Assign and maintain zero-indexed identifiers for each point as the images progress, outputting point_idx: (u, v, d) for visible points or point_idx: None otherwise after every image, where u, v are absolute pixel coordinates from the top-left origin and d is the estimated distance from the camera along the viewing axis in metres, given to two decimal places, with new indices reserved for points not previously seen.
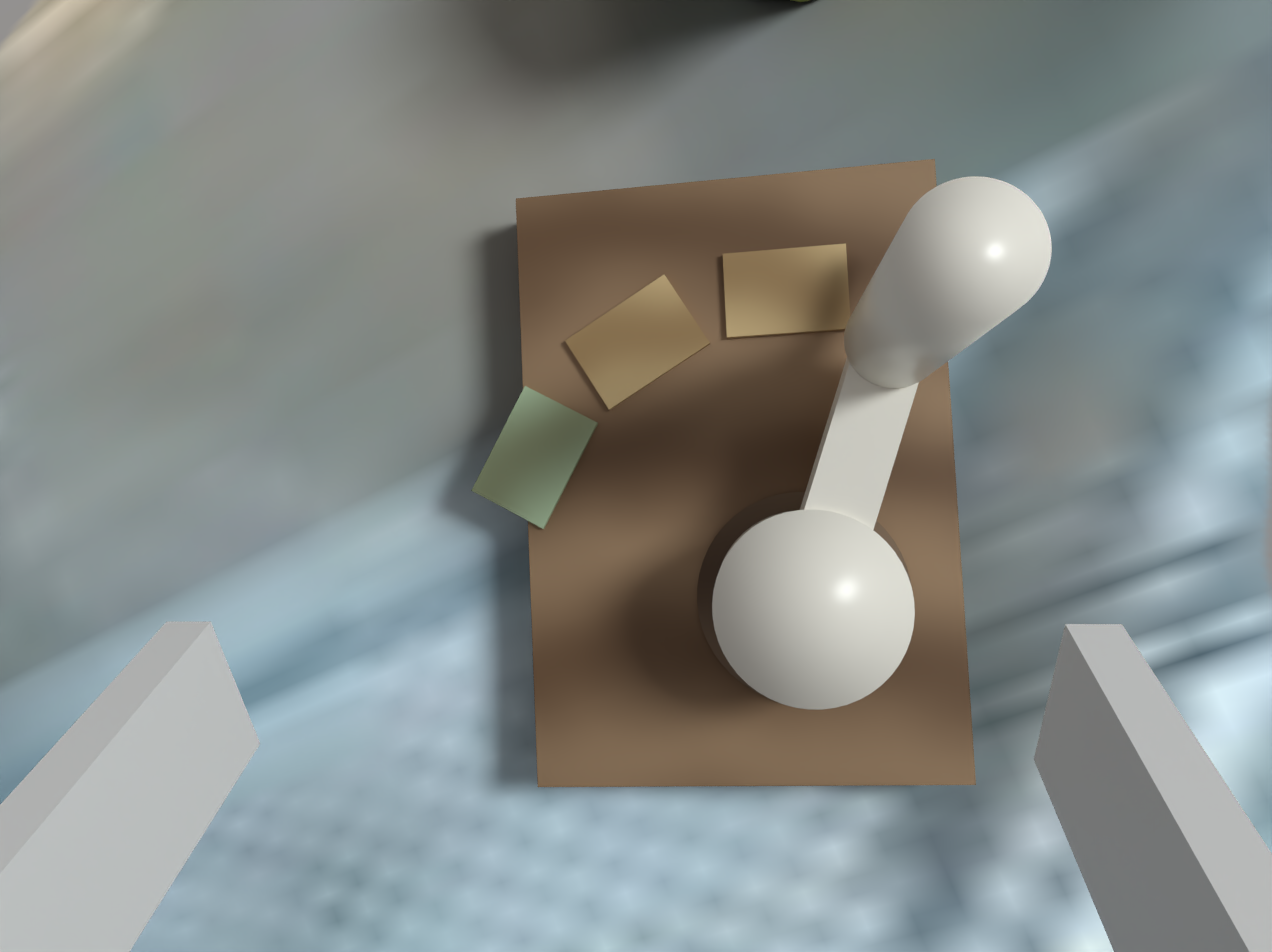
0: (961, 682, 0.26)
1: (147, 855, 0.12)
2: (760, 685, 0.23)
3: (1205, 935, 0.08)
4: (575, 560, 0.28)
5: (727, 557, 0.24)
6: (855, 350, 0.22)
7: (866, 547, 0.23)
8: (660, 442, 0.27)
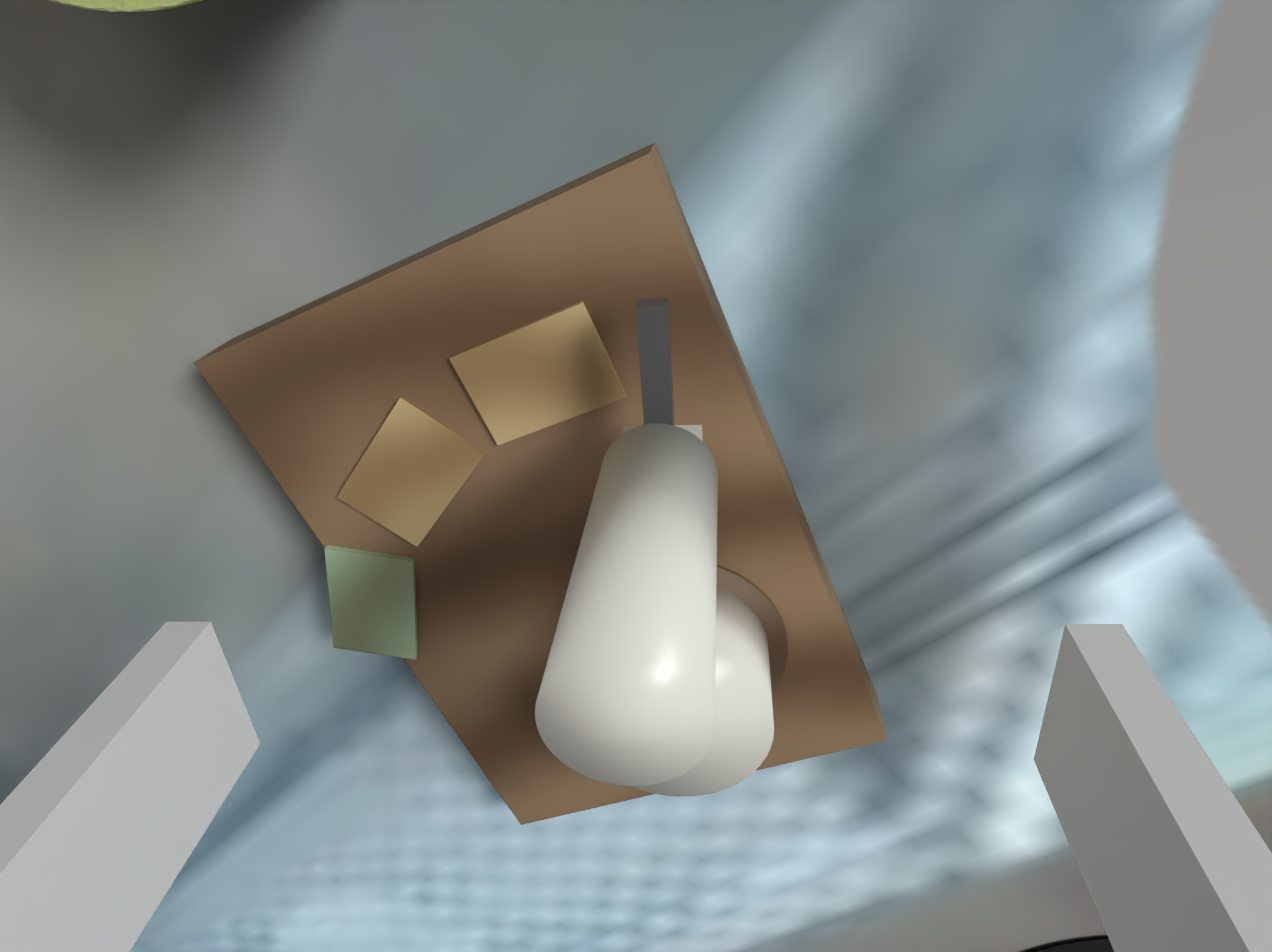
0: (852, 673, 0.26)
1: (147, 855, 0.12)
2: (653, 788, 0.25)
3: (1205, 935, 0.08)
4: (460, 672, 0.28)
5: None
6: None
7: None
8: (484, 557, 0.25)
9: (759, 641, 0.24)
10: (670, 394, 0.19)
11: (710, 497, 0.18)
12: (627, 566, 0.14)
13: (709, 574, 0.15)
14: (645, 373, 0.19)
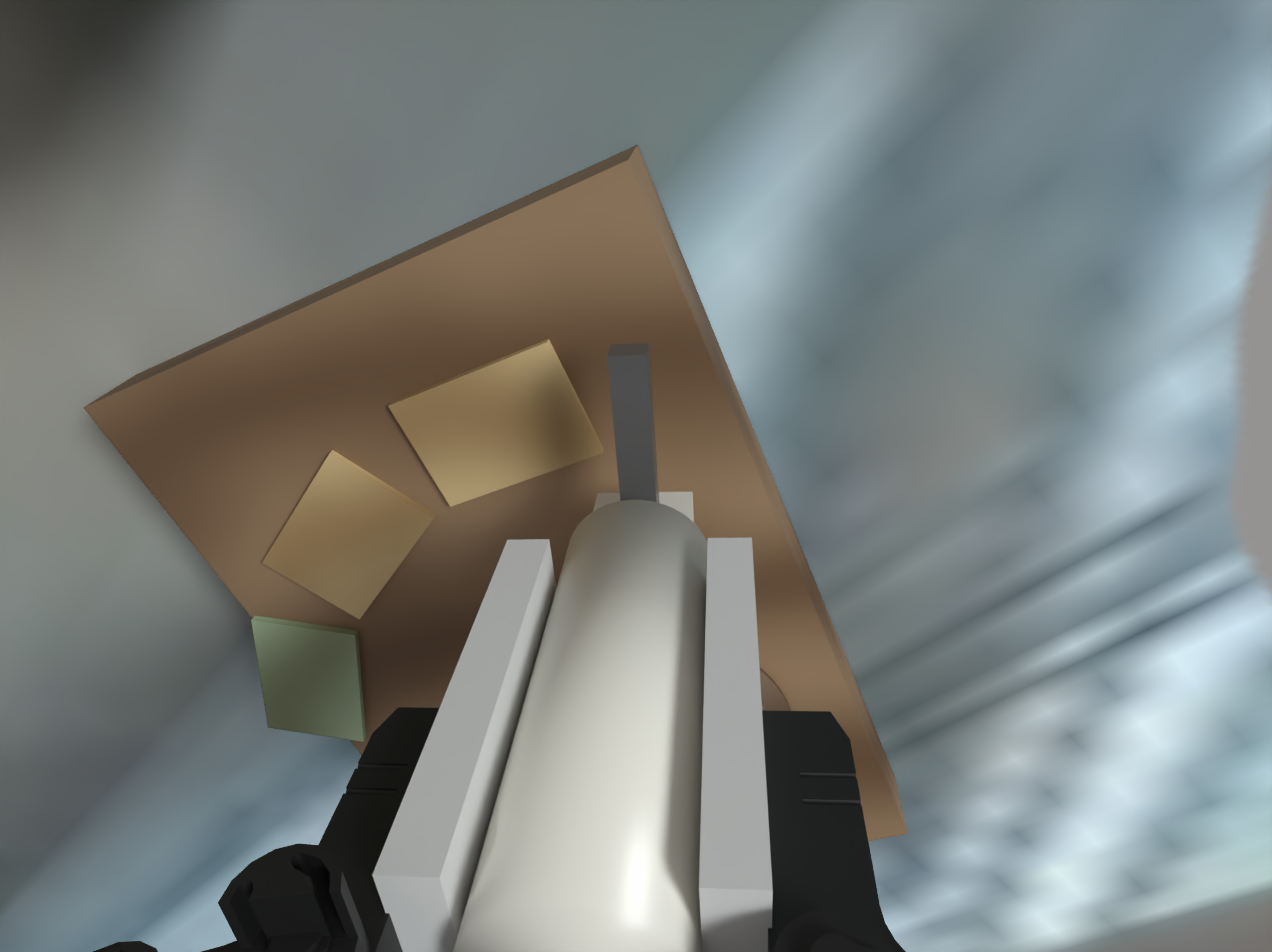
0: (868, 762, 0.23)
1: None
2: None
3: None
4: None
5: None
6: None
7: None
8: (439, 631, 0.22)
9: None
10: (652, 461, 0.16)
11: (701, 604, 0.14)
12: (586, 737, 0.10)
13: (699, 731, 0.11)
14: (621, 436, 0.15)
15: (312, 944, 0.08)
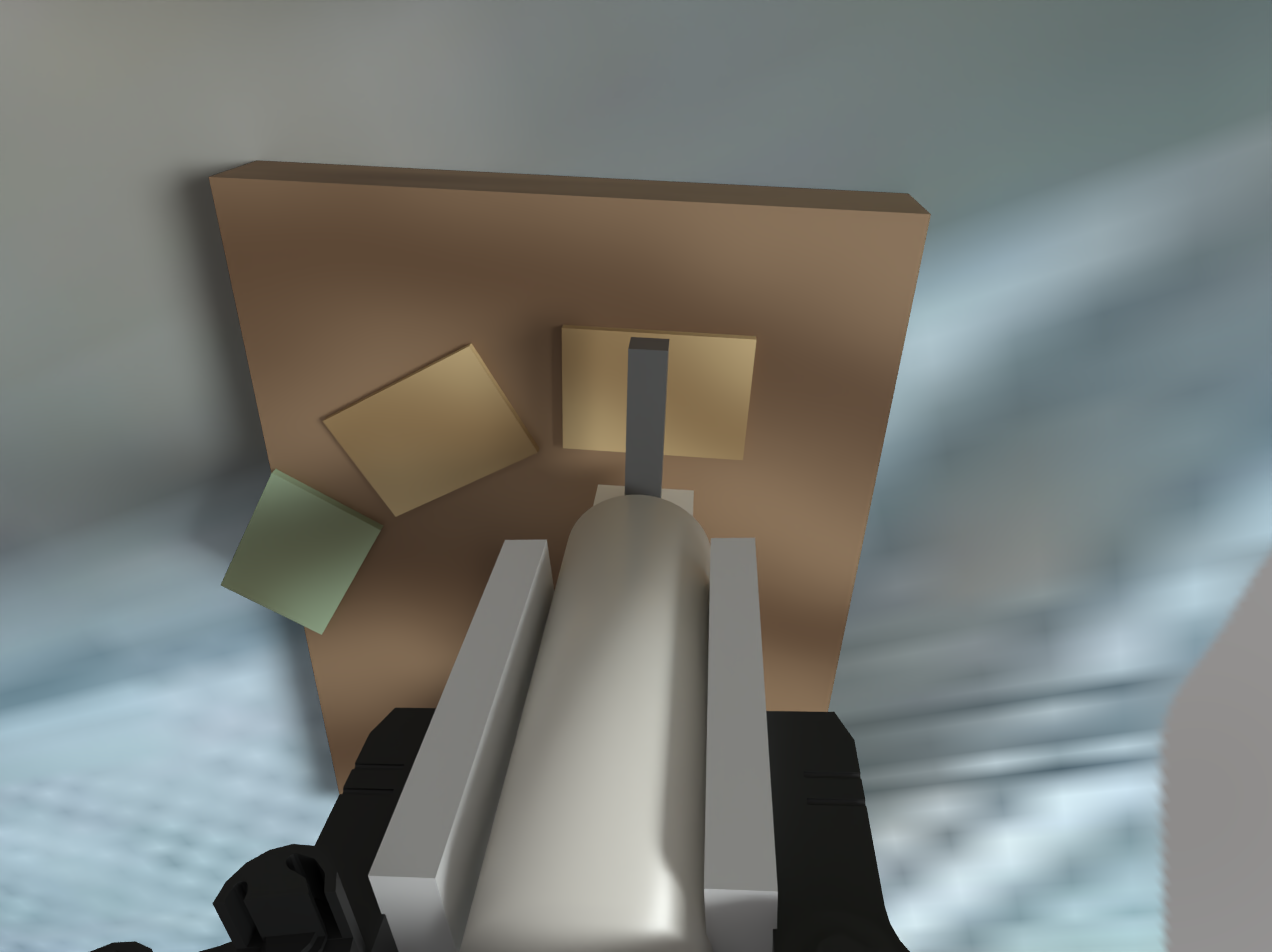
0: None
1: None
2: None
3: None
4: (367, 665, 0.22)
5: None
6: None
7: None
8: (470, 557, 0.20)
9: None
10: (661, 458, 0.15)
11: (706, 604, 0.14)
12: (602, 733, 0.10)
13: None
14: (632, 430, 0.15)
15: (307, 944, 0.08)
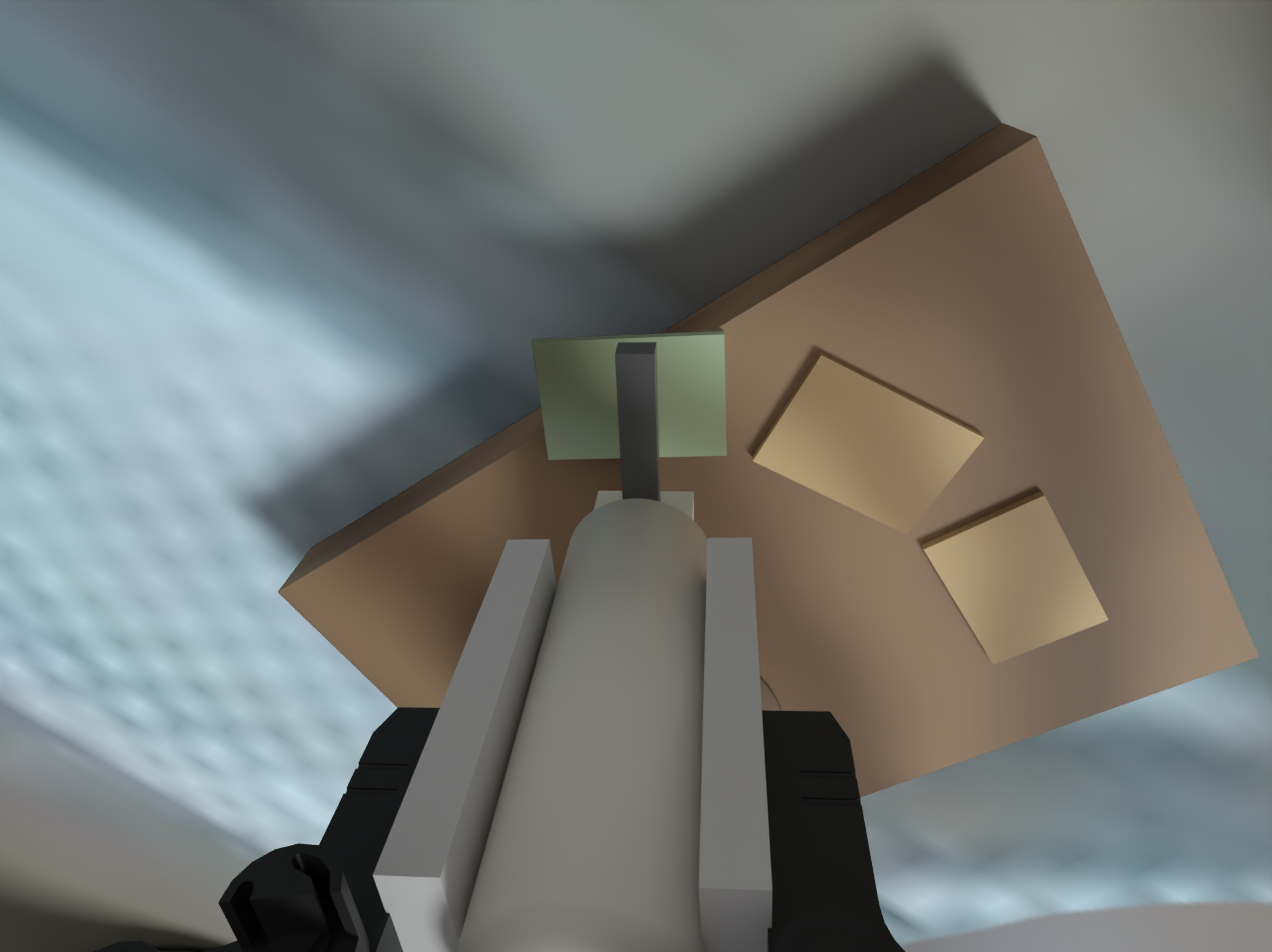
0: None
1: None
2: None
3: None
4: (538, 510, 0.20)
5: None
6: None
7: None
8: (744, 533, 0.19)
9: None
10: (656, 461, 0.16)
11: (704, 604, 0.14)
12: (593, 735, 0.10)
13: (702, 731, 0.11)
14: (625, 435, 0.15)
15: (312, 944, 0.08)
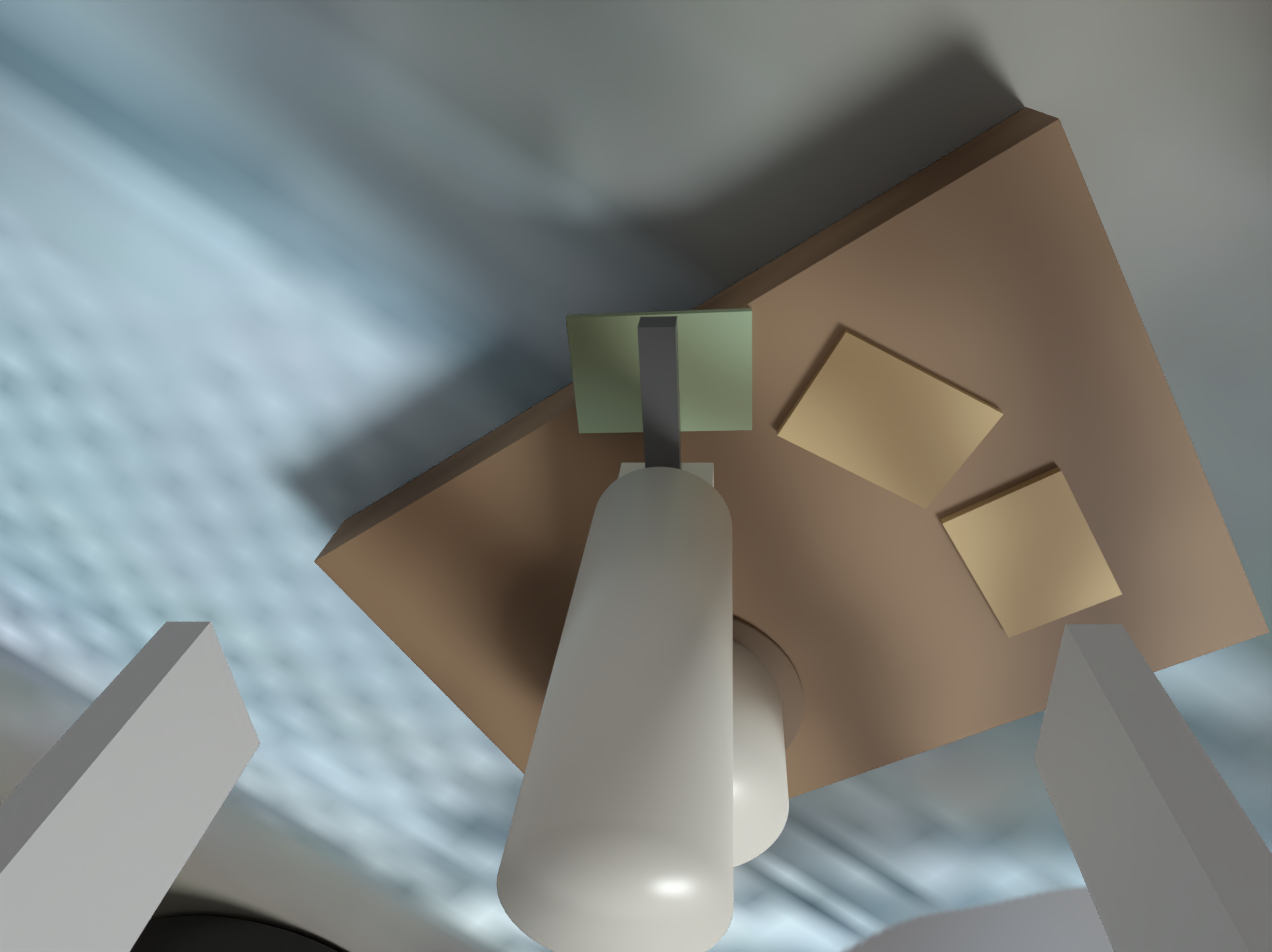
0: None
1: (147, 855, 0.12)
2: None
3: (1205, 935, 0.08)
4: (567, 482, 0.20)
5: None
6: None
7: None
8: (767, 506, 0.20)
9: (772, 702, 0.21)
10: (677, 431, 0.16)
11: (725, 565, 0.14)
12: (621, 678, 0.11)
13: (725, 678, 0.12)
14: (648, 406, 0.16)
15: None
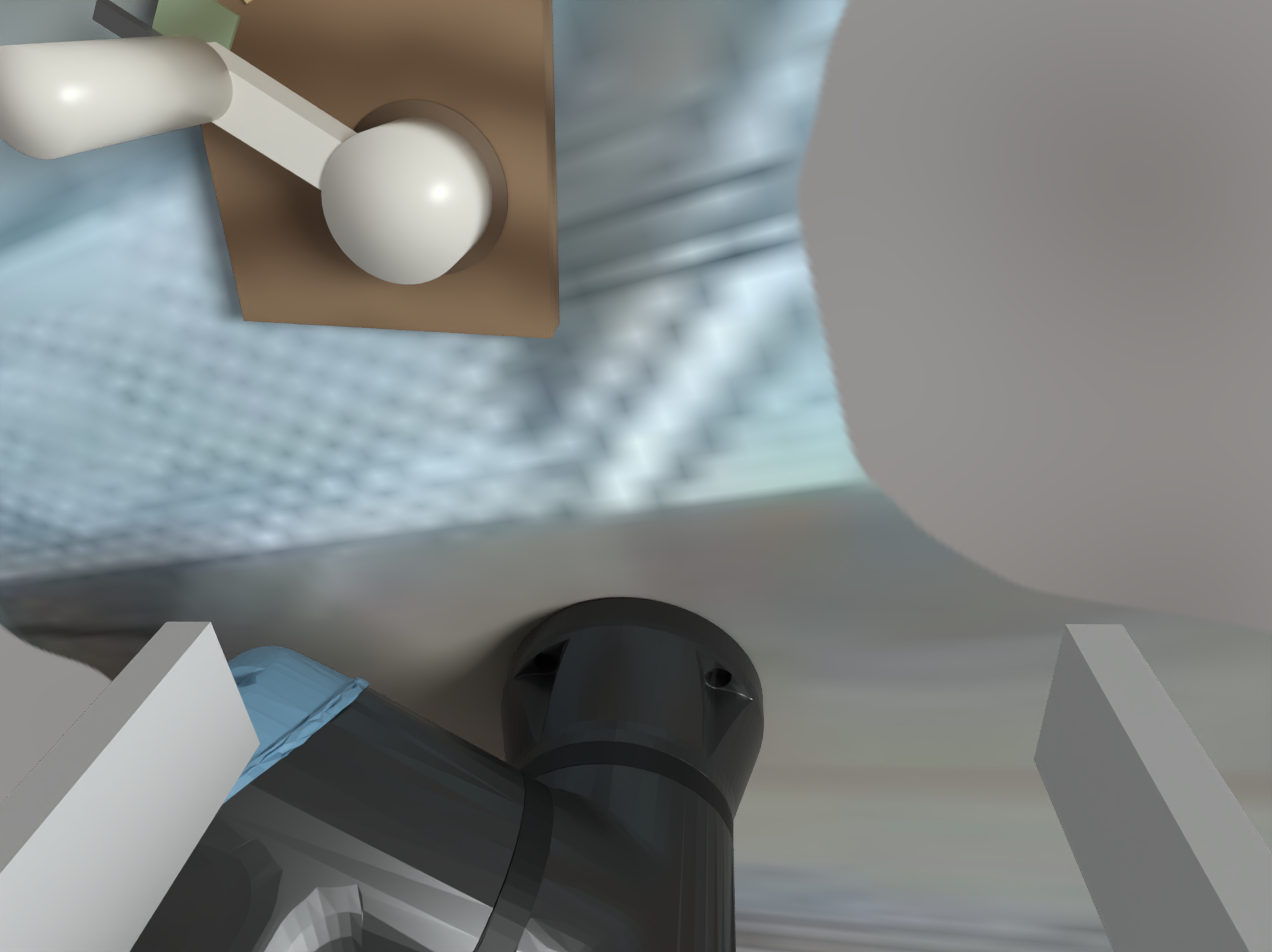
0: (543, 266, 0.35)
1: (147, 855, 0.12)
2: (447, 263, 0.31)
3: (1205, 935, 0.08)
4: (242, 146, 0.33)
5: (353, 259, 0.32)
6: None
7: (353, 154, 0.30)
8: (298, 41, 0.31)
9: (410, 120, 0.31)
10: None
11: (151, 37, 0.27)
12: None
13: (96, 41, 0.24)
14: None
15: None
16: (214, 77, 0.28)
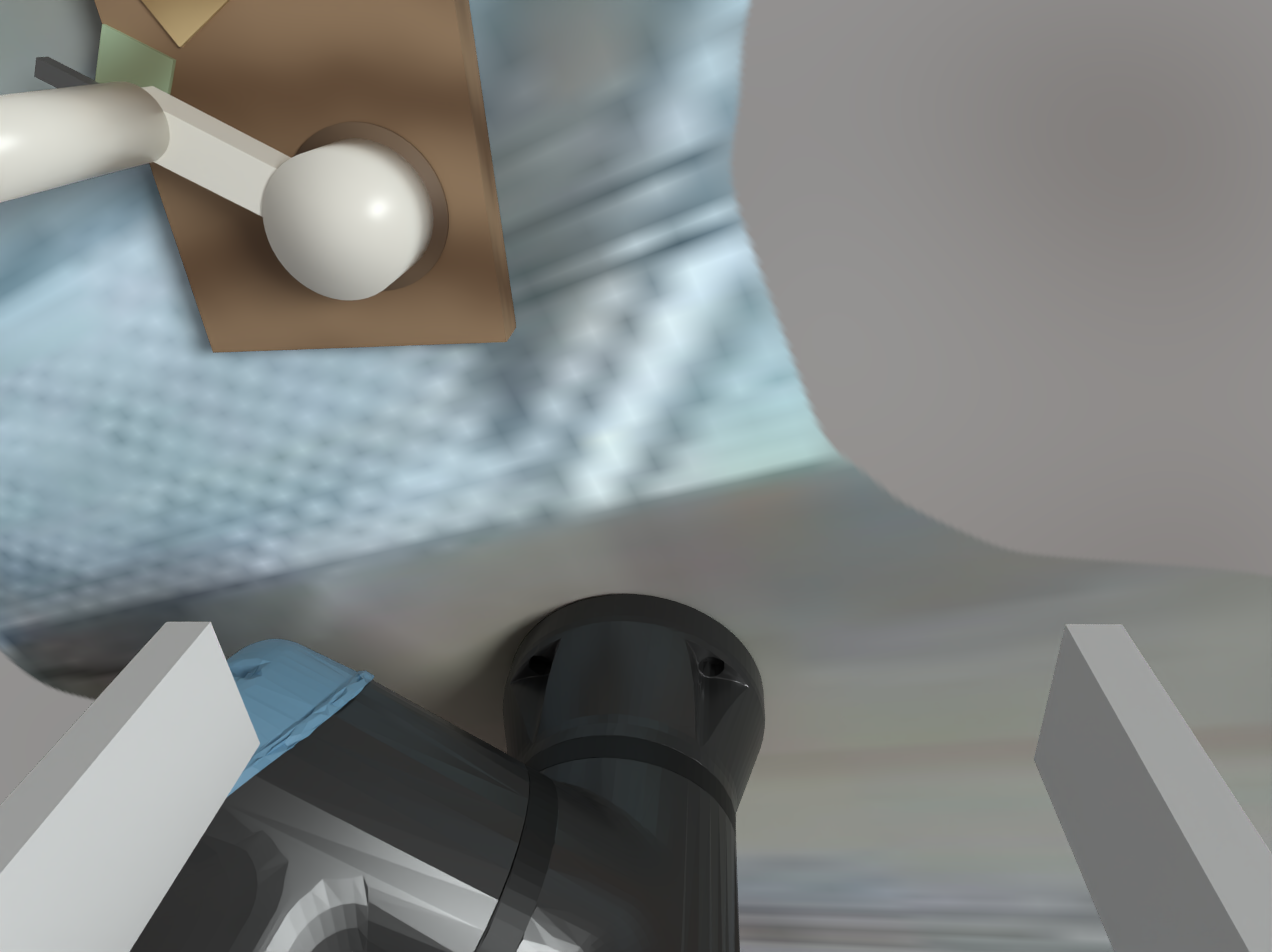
0: (490, 271, 0.35)
1: (146, 855, 0.12)
2: (390, 276, 0.32)
3: (1206, 935, 0.08)
4: (191, 183, 0.35)
5: (301, 281, 0.33)
6: (128, 168, 0.30)
7: (288, 179, 0.31)
8: (232, 78, 0.32)
9: (343, 142, 0.32)
10: None
11: (83, 85, 0.28)
12: None
13: (25, 93, 0.25)
14: None
15: None
16: (148, 118, 0.29)
